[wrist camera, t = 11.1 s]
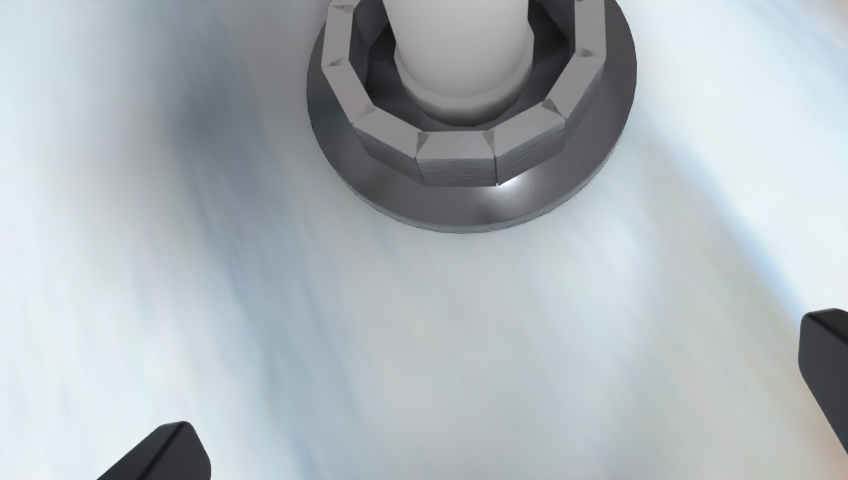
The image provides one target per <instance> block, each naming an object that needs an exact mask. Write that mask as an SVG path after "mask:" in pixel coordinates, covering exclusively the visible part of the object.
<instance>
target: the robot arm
mask: <svg viewBox="0 0 848 480" xmlns="http://www.w3.org/2000/svg"><path fill="white" fill-rule="evenodd" d="M798 364H799V369H800V372H801V374H802V377H803V379H804V380H805V382H806V384H807V385H808V387H809V389H810V391H811V392H812V394H813V396H814V398H815V399H816V401H817V403H818V404H819V406H820V408H821V410H822V411H823V413H824V415H825V416H826V418H827V420H828V422H829V423H830V425H831V427H832V429H833V430H834V432H835V434H836V435H837V437H838V439H839V441H840V442H841V444H842V446H843V448H844V449H845V451H846V453H847V454H848V312H847V311H844V310H841V309H837V308H830V309H825V310H819V311H813V312H808V313H806V314H805V315H804V316H803V318H802V320H801V326H800V340H799V353H798ZM210 478H211V464H210V460H209V457H208V455H207V453H206V451H205V449H204V447H203V445H202V443H201V441H200V439H199V437H198V435H197V433H196V431H195V429H194V428H193V426H192V425H191V424H190V423H189V422H186V421H180V422H174V423H168V424H164V425H161V426H159V427H158V428H156V429H155V430H154V431H153V432H152V433H151V434H149V435H148V436H147V437H146V438H145V439H144V440H142V441H141V442H140V443H139V444H138V445H136V446H135V447H134V448H133V449H132V450H131V451H129V452H128V453H127V454H126V455H125V456H124V457H122V458H121V459H120V460H119V461H118V462H117V463H115V464H114V465H113V466H112V467H111V468H110V469H108V470H107V471H106V472H105V473H104V474H103V475H101V476H100V477H99V478H98V479H97V480H210Z"/></svg>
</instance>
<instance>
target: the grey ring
mask: <svg viewBox="0 0 848 480" xmlns="http://www.w3.org/2000/svg"><path fill="white" fill-rule="evenodd" d="M527 20H528V22H529V25H530V27H531V29H532V32H533V34H534V44H533V61H532V71H531V75H530V78H529V80H528V82H527V84H526V86H525V87H524V89H523V91H522V93H521V95H520V97H519V98H518V100H517V102H516V103H515V104H514V105H513V106H512V107H511V108H509V109H508V110H507V111H506V112H504V113H503V114H502V115H501V116H500V117H498V118H497V119H495V120H492V121H489V122H486V123H483V124H480V125H477V126H474V127H471V126H449V125H446V124H444V123H442V122H439V121H437V120H434V119H432V118H430V117H428V116H427V115H426V114H425V113H424V112H423V111H422V110H421V109H420V108H419V107H418V106H417V105H416V104H415V103H414V102H413V101H412V100H411V99H410V98H409V96H408V95H407V93H406V91H405V89H404V87H403V84H402V81H401V78H400V75H399V72H398V69H397V66H396V63H395V60H394V54H395V47H396V39H395V36H394V33H393V30H392V27H391V24H390V21H389V18H388V15H387V12H386V9H385V6H384V3H383V0H332V1H331V2H330V3H329V6H328V10H327V19H326V22H325V23H324V25H323V27H322V29H321V32H320V34H319V36H318V38H317V40H316V43H315V46H314V49H313V52H312V55H311V59H310V64H309V69H308V74H307V103H308V112H309V116H310V120H311V124H312V128H313V131H314V133H315V136H316V138H317V141H318V143H319V146H320V147H321V149H322V151H323V152H324V154H325V156H326V157H327V159H328V161H329V162H330V164H331V165H332V167H333V168H334V170H335V171H336V172H337V174H338V175H339V176H340V177H341V179H342V180H343V181H344V182H345V183H346V185H347V186H348V187H349V188H350V189H351V190H352V191H353V192H354V193H355V194H357V195H358V196H359V197H360V198H361V199H362V200H363V201H365V202H366V203H368V204H369V205H370V206H372V207H373V208H375V209H376V210H378V211H379V212H381V213H383V214H385V215H387V216H389V217H391V218H393V219H395V220H397V221H400V222H403V223H406V224H409V225H412V226H415V227H418V228H422V229H427V230H432V231H437V232H446V233H461V234H463V233H481V232H489V231H494V230H500V229H505V228H509V227H512V226H515V225H519V224H522V223H525V222H528V221H530V220H533V219H535V218H537V217H539V216H541V215H544V214H546V213H548V212H550V211H552V210H553V209H555V208H556V207H558V206H560V205H561V204H563V203H564V202H566V201H568V200H569V199H570V198H571V197H573V196H574V195H575V194H576V193H578V192H579V191H580V190H581V189H582V188H584V187H585V186H586V185H587V184H588V183H589V182H590V181H591V180H592V179H593V177H594V176H595V175H596V174H597V173H598V172H599V171H600V170H601V168H602V167H603V166H604V164H605V163H606V161H607V160H608V159H609V157H610V156H611V154H612V153H613V151H614V149H615V147H616V145H617V143H618V141H619V139H620V137H621V135H622V133H623V130H624V127H625V124H626V121H627V118H628V116H629V113H630V110H631V107H632V104H633V99H634V93H635V88H636V78H637V61H636V53H635V46H634V41H633V38H632V35H631V31H630V28H629V25H628V23H627V21H626V19H625V17H624V14H623V12H622V10H621V8H620V7H619V5H618V4H617V2H616V1H615V0H528V14H527Z"/></svg>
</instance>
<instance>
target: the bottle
mask: <svg viewBox="0 0 848 480" xmlns="http://www.w3.org/2000/svg"><path fill="white" fill-rule="evenodd" d="M383 3H384V6H385V9H386V12H387V15H388V18H389V21H390V24H391V27H392V30H393V33H394V36H395V39H396V47H395V54H394V60H395V63H396V66H397V69H398V72H399V75H400V78H401V81H402V84H403V87H404V89H405V91H406V93H407V95H408V96H409V98H410V99H411V100H412V101H413V102H414V103H415V104H416V105H417V106H418V107H419V108H420V109H421V110H422V111H423V112H424V113H425V114H426V115H427V116H428V117H430V118H432V119H434V120H437V121H439V122H442V123H444V124H446V125H449V126H471V127H474V126H477V125H480V124H483V123H486V122H489V121H492V120H495V119H497V118H498V117H500V116H501V115H502V114H503V113H504V112H506V111H507V110H508V109H509V108H511V107H512V106H513V105H514V104H515V103H516V102H517V100H518V98H519V97H520V95H521V93H522V91H523V89H524V87H525V86H526V84H527V82H528V80H529V78H530V75H531V71H532V61H533V44H534V34H533V32H532V29H531V27H530V25H529V22H528V20H527V14H528V0H383Z"/></svg>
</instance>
